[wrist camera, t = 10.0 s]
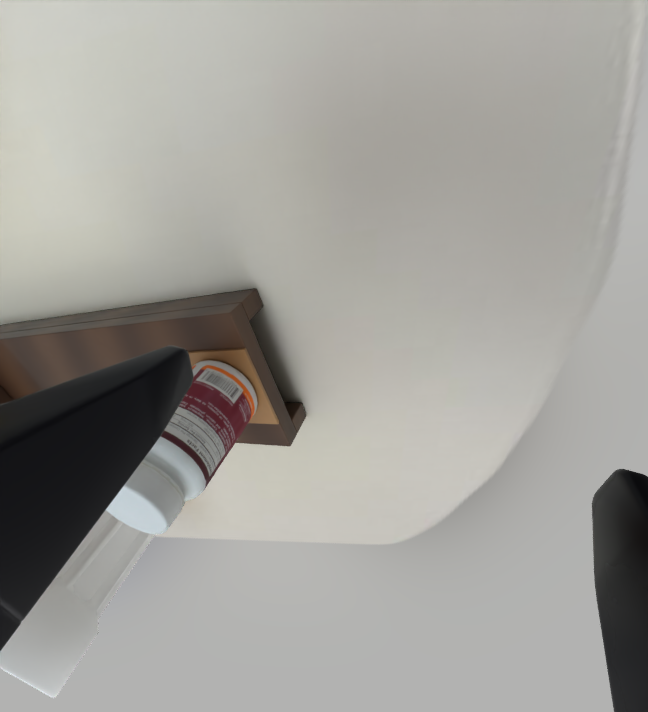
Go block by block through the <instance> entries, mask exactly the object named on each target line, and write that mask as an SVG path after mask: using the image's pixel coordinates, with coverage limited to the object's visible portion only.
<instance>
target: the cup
mask: <svg viewBox="0 0 648 712" xmlns="http://www.w3.org/2000/svg"><path fill="white" fill-rule="evenodd" d="M155 535H156V534H149V533H145V532H142V531H140V530H137V529H135V528H133V527H131V526H129V525H127V524H125V523H123V522H122V521H120V520H118V519H117V518H115V517H114V516H113V515H111V514H110V513H109V512H108V511H107V510H105V512H104V513H103V514H102V516H101V517H100V518H99V520H98V521H97V522H96V524H95V525H94V526H93V528H92V529H91V530H90V532H89V533H88V534H87V536H86V537H85V538H84V540H83V541H82V542H81V544H80V545H79V546H78V548H77V549H76V550H75V552H74V553H73V554H72V556H71V557H70V558H69V560H68V561H67V562H66V564H65V565H64V566H63V568H62V569H61V570H60V572H59V573H58V574H57V576H56V577H55V578H54V580H53V581H52V582H51V584H50V585H49V586H48V588H47V589H46V590H45V592H44V593H43V595H42V596H41V597H40V599H39V600H38V601H37V603H36V604H35V605H34V607H33V608H32V609H31V611H30V612H29V613H28V615H27V616H26V617H25V619H24V620H23V621H21V624H20V626H19V627H18V628H17V630H16V631H15V632H14V634H13V635H12V636H11V638H10V639H9V640H8V642H7V643H6V644H5V646H4V647H3V648H2V650H1V651H0V669H2V670H4V671H6V672H7V673H9V674H11V675H13V676H15V677H16V678H18V679H20V680H22V681H23V682H25V683H27V684H29V685H30V686H32V687H34V688H36V689H37V690H39V691H41V692H43V693H44V694H46V695H48V696H50V697H52V698H55V697H56V696H57V695H58V694H59V692H60V691H61V689H62V688H63V686H64V684H65V683H66V681H67V680H68V678H69V677H70V675H71V674H72V672H73V671H74V669H75V668H76V666H77V665H78V663H79V662H80V660H81V658H82V657H83V655H84V654H85V652H86V651H87V649H88V648H89V646H90V645H91V643H92V642H93V640H94V639H95V637H96V636H97V634H98V619H99V617H100V616H101V614H102V613H103V611H104V610H105V608H106V607H107V605H108V604H109V603H110V601H111V599H112V598H113V597H114V595H115V594H116V592H117V591H118V589H119V588H120V586H121V585H122V583H123V582H124V580H125V579H126V577H127V576H128V574H129V573H130V572H131V570H132V568H133V567H134V566H135V564H136V562H137V561H138V559H139V558H140V557H141V555H142V554H143V552H144V551H145V549H146V548H147V546H148V545H149V543H150V542H151V540H152V539H153V537H154V536H155Z"/></svg>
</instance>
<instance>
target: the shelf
mask: <svg viewBox="0 0 648 712" xmlns="http://www.w3.org/2000/svg"><path fill="white" fill-rule="evenodd" d="M262 307H263V304H262V302H261V299H260V297H259V294H258V292H257V289H249V290H242V291H235V292H228V293H221V294H214V295H208V296H201V297H194V298H187V299H180V300H173V301H166V302H159V303H152V304H145V305H138V306H131V307H124V308H117V309H110V310H103V311H96V312H89V313H82V314H75V315H68V316H61V317H54V318H47V319H40V320H33V321H27V322H20V323H13V324H6V325H0V404H3V403H6V402H9V401H12V400H15V399H17V398H20V397H23V396H26V395H29V394H32V393H35V392H37V391H40V390H43V389H46V388H49V387H52V386H54V385H57V384H60V383H63V382H66V381H69V380H72V379H74V378H77V377H80V376H83V375H86V374H89V373H91V372H94V371H97V370H100V369H103V368H106V367H109V366H111V365H114V364H117V363H120V362H123V361H126V360H128V359H131V358H134V357H137V356H140V355H143V354H146V353H148V352H151V351H154V350H157V349H160V348H163V347H165V346H169V345H173V346H177V347H181V348H184V349H186V350H187V351H188V353H189V356H190V361H191V366H194V365H195V364H196V363H198V362H200V361H206V360H212V361H219V362H222V363H225V364H227V365H230V366H231V367H233V368H235V369H236V370H238V371H239V372H240V373H242V374H243V375H244V376H245V377H246V378H247V379H248V380H249V382H250V383H251V385H252V387H253V388H254V391H255V393H256V397H257V402H258V404H257V409H256V412H255V414H254V415H253V416H252V418H251V419H250V421H249V422H248V424H247V426H246V427H245V429H244V430H243V432H242V433H241V435H240V436H239V438H238V440H237V441H236V442H235V443H248V444H263V445H278V446H291V444H292V442H293V440H294V438H295V436H296V435H297V433H298V431H299V429H300V427H301V425H302V423H303V421H304V419H305V417H306V413H305V410H304V408H303V405H302V403H284V402H283V400H282V397H281V395H280V393H279V390H278V388H277V386H276V383H275V381H274V379H273V376H272V374H271V372H270V369H269V367H268V365H267V362H266V360H265V357H264V355H263V353H262V350H261V348H260V346H259V343H258V341H257V339H256V336H255V334H254V332H253V329H252V327H251V325H250V322H249V321H250V320H251V319H252V318H253V317H254V315H255V314H256V313H257V312H258V311H259V310H260V309H261V308H262Z"/></svg>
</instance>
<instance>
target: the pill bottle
mask: <svg viewBox="0 0 648 712" xmlns="http://www.w3.org/2000/svg"><path fill="white" fill-rule="evenodd" d="M192 370H193V382H192V385H191V387H190V388H189V390H188V392H187V393H186V395H185V397H184V398H183V400H182V402H181V403H180V405H179V407H178V408H177V410H176V412H175V413H174V415H173V417H172V418H171V420H170V422H169V423H168V425H167V427H166V428H165V430H164V432H163V433H162V435H161V436H160V438H159V439H158V440H157V442H156V443H155V445H154V446H153V447H152V449H151V450H150V451H149V453H148V454H147V455H146V457H145V458H144V459H143V461H142V462H141V463H140V465H139V466H138V467H137V469H136V470H135V472H134V473H133V474H132V476H131V477H130V478H129V480H128V481H127V482H126V484H125V485H124V486H123V488H122V489H121V490H120V492H119V493H118V494H117V496H116V497H115V498H114V500H113V501H112V502H111V504H110V505H109V506H108V508H107V509H106V510H107V511H108V512H109V513H110V514H111V515H113V516H114V517H115V518H117V519H118V520H120V521H122V522H123V523H125V524H127V525H129V526H131V527H133V528H135V529H137V530H140V531H142V532H145V533H149V534H162V533H164V532H165V531H166V530H167V529H168V528H169V527H170V525H171V524H172V522H173V521H174V520H175V518H176V517H177V515H178V514H179V513H180V511H181V509H182V507H183V506H184V503H185V501H188V500H191V499H194V498H196V497H197V496H198V495H200V494H201V493H202V492H203V491H204V489H205V488H206V486H207V485H208V483H209V482H210V480H211V478H212V477H213V476H214V474H215V472H216V471H217V469H218V468H219V466H220V465H221V463H222V462H223V460H224V459H225V457H226V456H227V454H228V453H229V451H230V450H231V449H232V447H233V445H234V444H235V442H236V441H237V440H238V438H239V436H240V435H241V433H242V432H243V430H244V429H245V427H246V426H247V424H248V422H249V421H250V419H251V418H252V416H253V415H254V414H255V412H256V409H257V404H258V402H257V397H256V393H255V391H254V388H253V387H252V385H251V383H250V382H249V380H248V379H247V378H246V377H245V376H244V375H243V374H242V373H240V372H239V371H238V370H236V369H235V368H233V367H231V366H230V365H227V364H225V363H222V362H219V361H212V360H206V361H200V362H198V363H196V364H195V365H194V366H192Z"/></svg>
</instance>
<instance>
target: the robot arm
mask: <svg viewBox="0 0 648 712" xmlns="http://www.w3.org/2000/svg"><path fill="white" fill-rule="evenodd" d="M192 382H193V370H192V366H191V361H190V356H189V353H188V351H187V350H186V349H184V348H181V347H177V346H173V345H169V346H165V347H163V348H160V349H157V350H154V351H151V352H148V353H146V354H143V355H140V356H137V357H134V358H131V359H128V360H126V361H123V362H120V363H117V364H114V365H111V366H109V367H106V368H103V369H100V370H97V371H94V372H91V373H89V374H86V375H83V376H80V377H77V378H74V379H72V380H69V381H66V382H63V383H60V384H57V385H54V386H52V387H49V388H46V389H43V390H40V391H37V392H35V393H32V394H29V395H26V396H23V397H20V398H17V399H15V400H12V401H9V402H6V403H3V404H0V651H1V650H2V648H3V647H4V646H5V644H6V643H7V642H8V640H9V639H10V638H11V636H12V635H13V634H14V632H15V631H16V630H17V628H18V627H19V626H20V624H21V621H23V620H24V619H25V617H26V616H27V615H28V613H29V612H30V611H31V609H32V608H33V607H34V605H35V604H36V603H37V601H38V600H39V599H40V597H41V596H42V595H43V593H44V592H45V590H46V589H47V588H48V586H49V585H50V584H51V582H52V581H53V580H54V578H55V577H56V576H57V574H58V573H59V572H60V570H61V569H62V568H63V566H64V565H65V564H66V562H67V561H68V560H69V558H70V557H71V556H72V554H73V553H74V552H75V550H76V549H77V548H78V546H79V545H80V544H81V542H82V541H83V540H84V538H85V537H86V536H87V534H88V533H89V532H90V530H91V529H92V528H93V526H94V525H95V524H96V522H97V521H98V520H99V518H100V517H101V516H102V514H103V513H104V512H105V510H106V509H107V508H108V506H109V505H110V504H111V502H112V501H113V500H114V498H115V497H116V496H117V494H118V493H119V492H120V490H121V489H122V488H123V486H124V485H125V484H126V482H127V481H128V480H129V478H130V477H131V476H132V474H133V473H134V472H135V470H136V469H137V467H138V466H139V465H140V463H141V462H142V461H143V459H144V458H145V457H146V455H147V454H148V453H149V451H150V450H151V449H152V447H153V446H154V445H155V443H156V442H157V440H158V439H159V438H160V436H161V435H162V433H163V432H164V430H165V428H166V427H167V425H168V423H169V422H170V420H171V418H172V417H173V415H174V413H175V412H176V410H177V408H178V407H179V405H180V403H181V402H182V400H183V398H184V397H185V395H186V393H187V392H188V390H189V388H190V387H191V385H192ZM592 518H593V550H594V575H595V589H596V597H597V604H598V610H599V617H600V623H601V629H602V636H603V642H604V649H605V655H606V662H607V669H608V675H609V682H610V688H611V694H612V701H613V707H614V712H648V477H647V476H645V475H643V474H640V473H636V472H632V471H629V470H625V469H619V470H616V471H615V472H614V473H613V474H612V475H611V476H610V477H609V478H608V479H607V480H606V481H605V483H604V484H603V485H602V486H601V487H600V488H599V489H598V491H597V492H596V493H595V495H594V497H593V501H592Z"/></svg>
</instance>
